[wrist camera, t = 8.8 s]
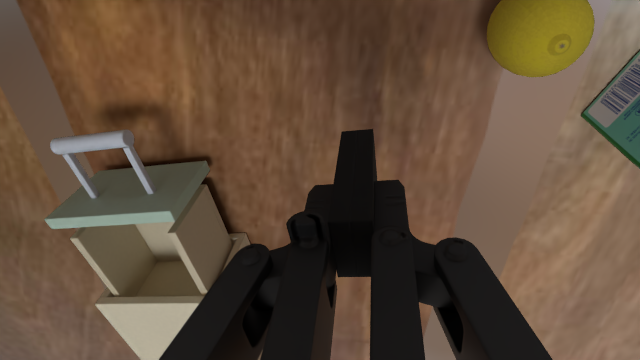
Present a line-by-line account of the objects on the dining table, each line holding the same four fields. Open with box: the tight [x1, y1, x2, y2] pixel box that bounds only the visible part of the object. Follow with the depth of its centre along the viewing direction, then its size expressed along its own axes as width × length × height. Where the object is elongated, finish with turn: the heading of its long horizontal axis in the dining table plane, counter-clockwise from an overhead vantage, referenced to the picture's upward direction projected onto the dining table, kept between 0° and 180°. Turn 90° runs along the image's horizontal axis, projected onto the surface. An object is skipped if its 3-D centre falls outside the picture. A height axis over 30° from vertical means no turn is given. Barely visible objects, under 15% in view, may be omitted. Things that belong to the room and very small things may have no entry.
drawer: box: [45, 130, 233, 297], centre depth 36 cm, size 20×13×8 cm, turn 10°
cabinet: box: [95, 233, 263, 360], centre depth 44 cm, size 15×14×10 cm
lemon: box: [487, 0, 594, 77], centre depth 23 cm, size 6×6×8 cm
